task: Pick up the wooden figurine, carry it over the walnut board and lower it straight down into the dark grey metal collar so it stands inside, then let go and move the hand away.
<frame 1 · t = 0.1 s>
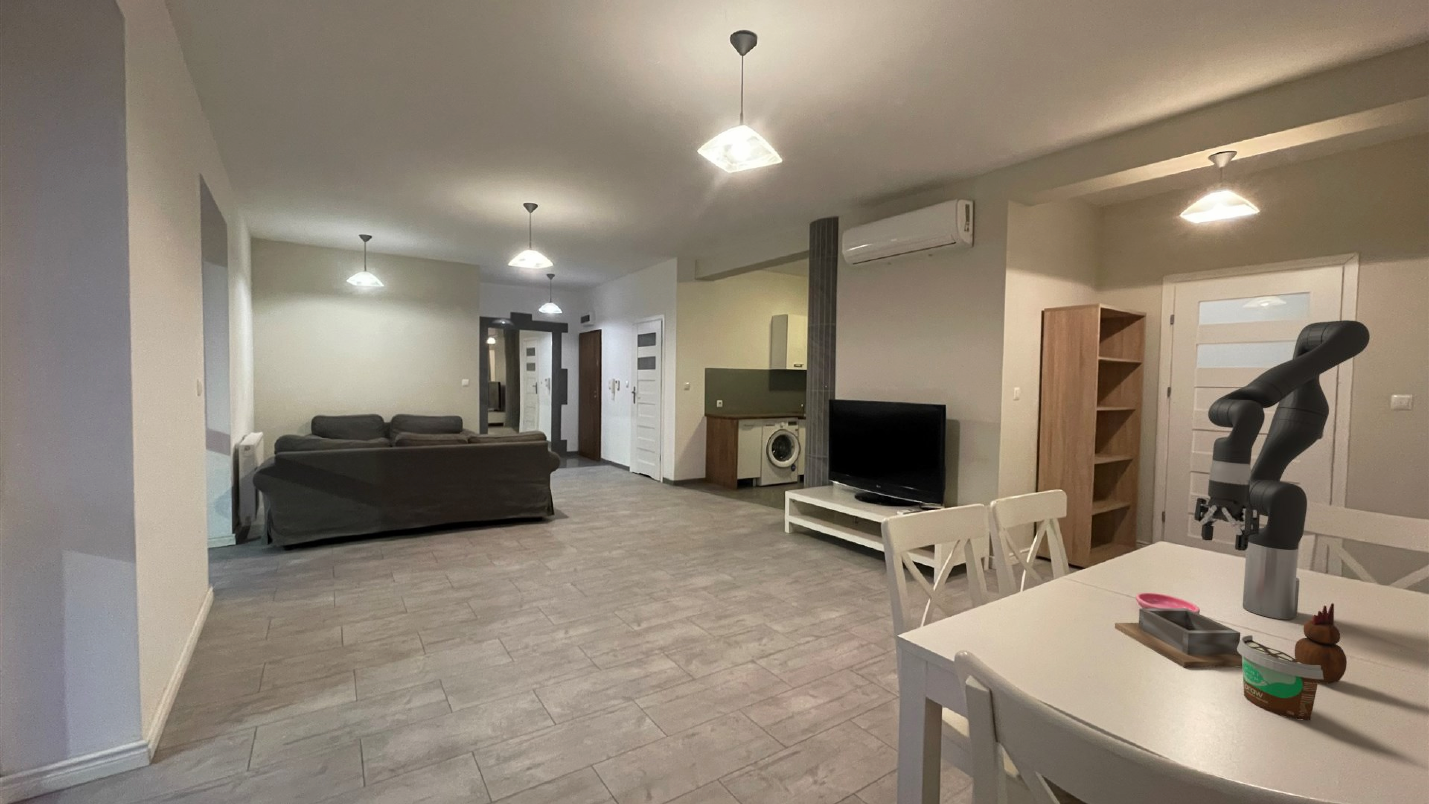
hand: (1223, 544, 141), 17 cm above the table, tool pointing down, fingers open, 8 cm apart
collar board: (1186, 645, 124), on the table
wooden figurine: (1318, 680, 111), on the table
saucer: (1166, 614, 141), on the table
food container: (1265, 706, 101), on the table
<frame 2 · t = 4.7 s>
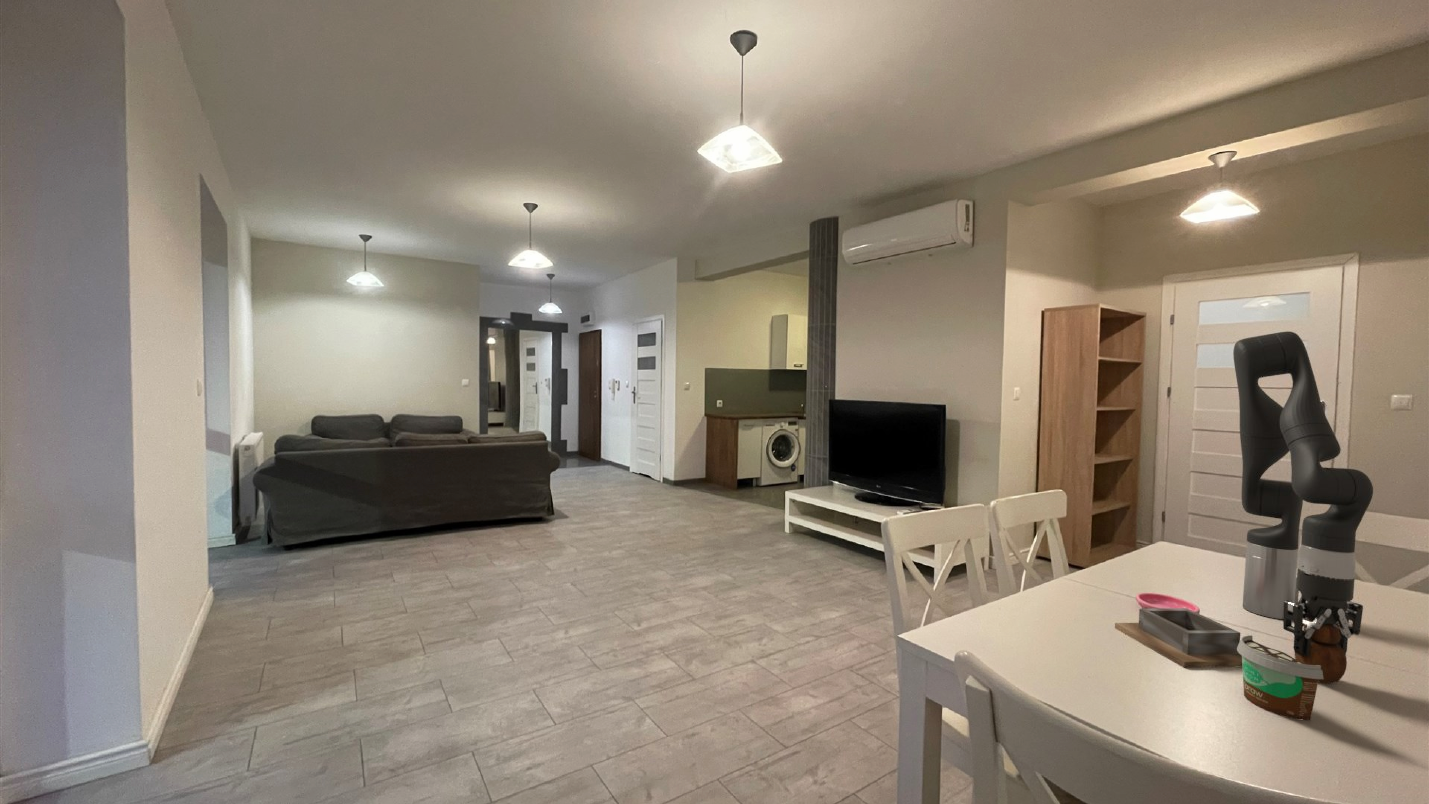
hand: (1319, 654, 110), 5 cm above the table, tool pointing down, fingers closed on wooden figurine, 7 cm apart
wooden figurine: (1318, 680, 111), on the table, touching gripper
everything else where it was.
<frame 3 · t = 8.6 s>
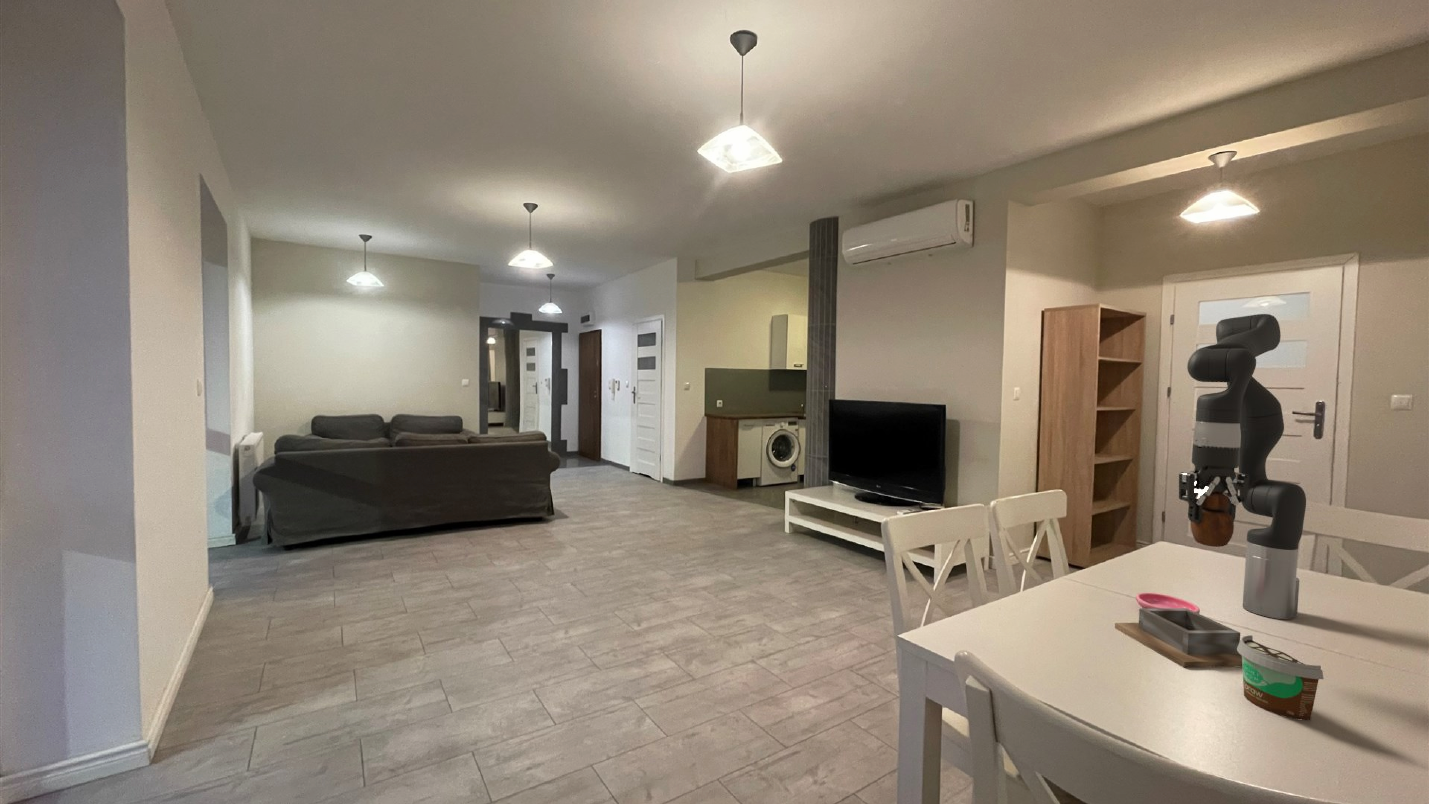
hand: (1211, 521, 120), 28 cm above the table, tool pointing down, fingers closed on wooden figurine, 7 cm apart
wooden figurine: (1210, 545, 120), point 23 cm above the table, touching gripper
everything else where it was.
when the fingers open (7 cm above the table, at t = 12.8 s): wooden figurine stays where it is, resting on collar board.
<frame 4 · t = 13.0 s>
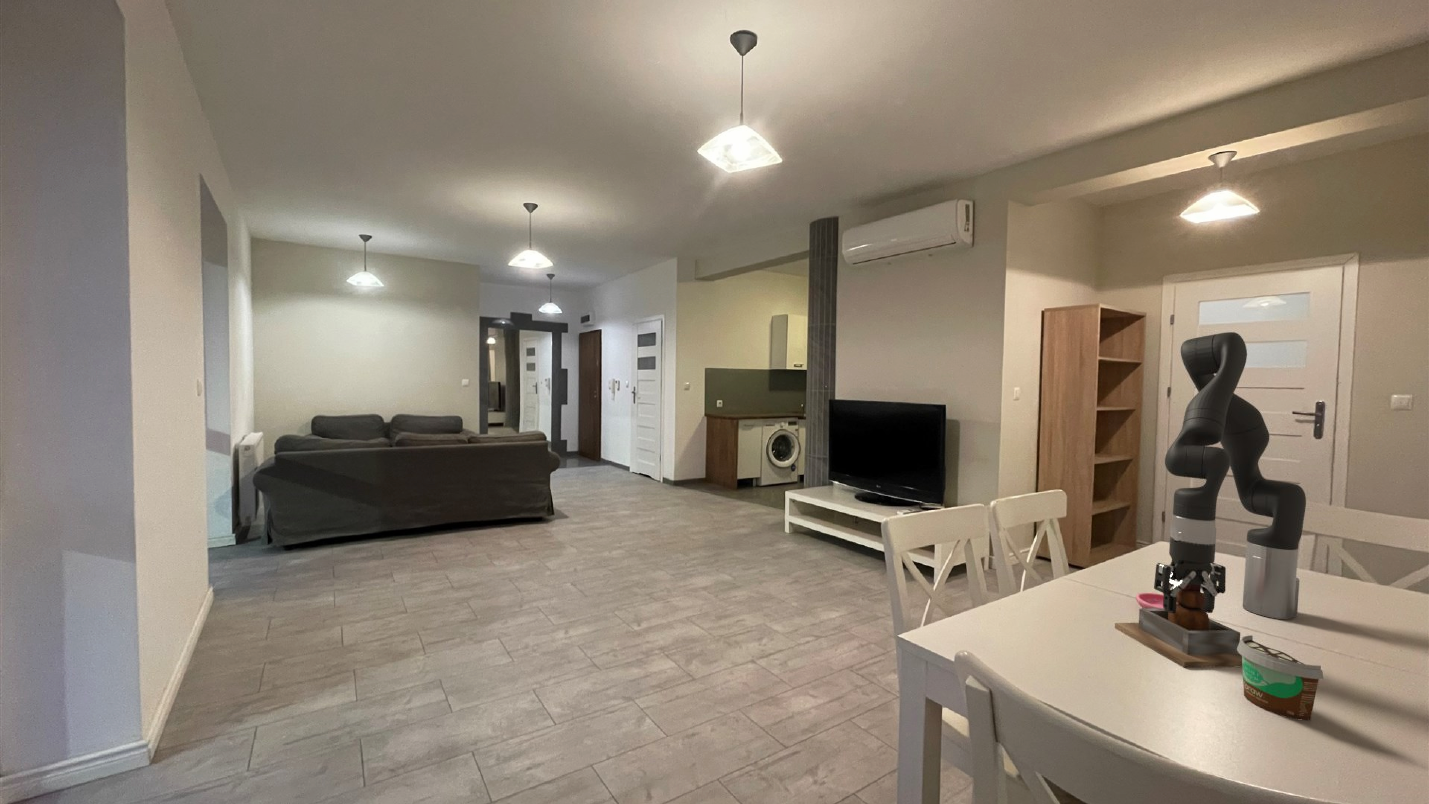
hand: (1188, 611, 123), 8 cm above the table, tool pointing down, fingers open, 8 cm apart
wooden figurine: (1186, 641, 123), point 1 cm above the table, touching collar board
everything else where it was.
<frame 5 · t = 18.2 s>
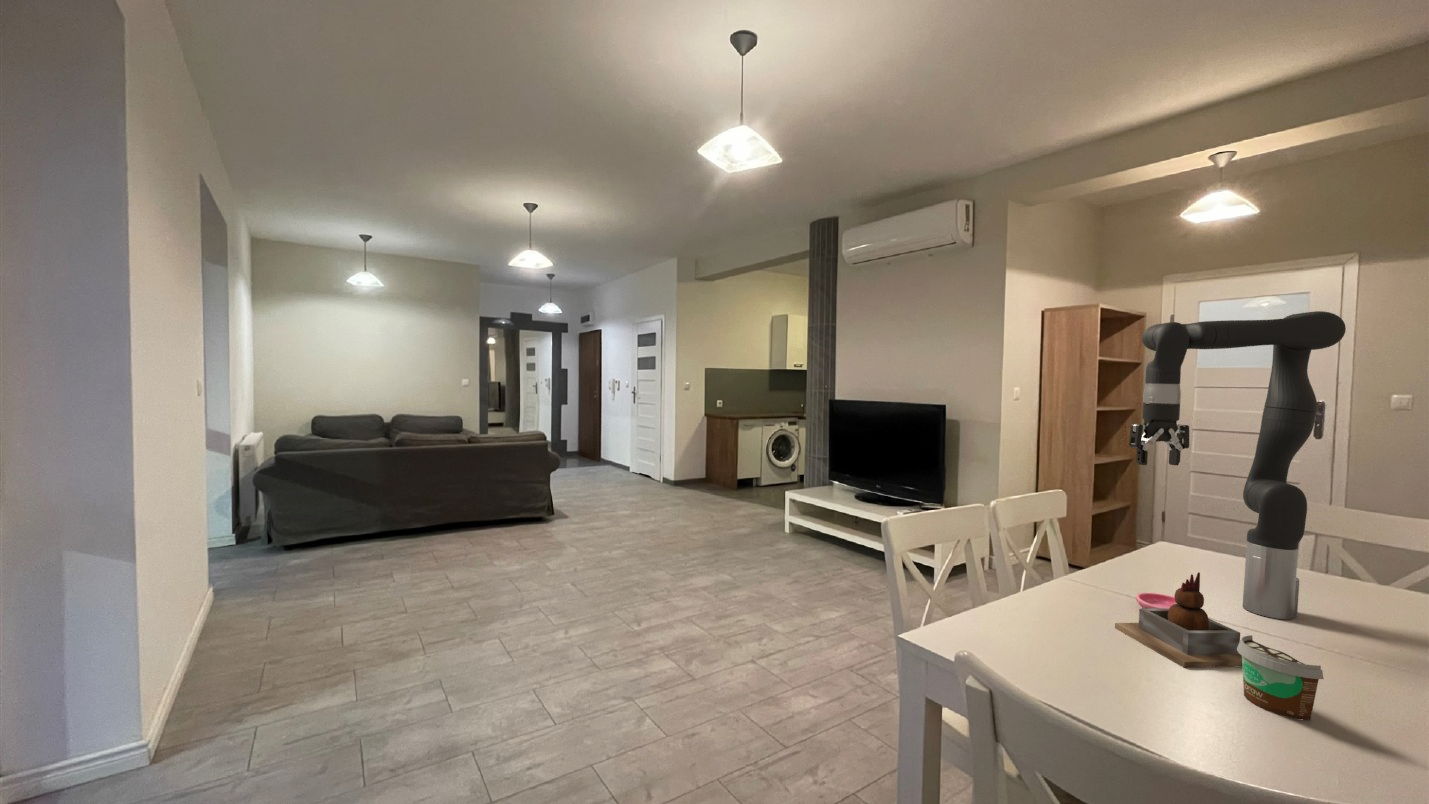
hand: (1157, 464, 146), 36 cm above the table, tool pointing down, fingers open, 8 cm apart
nothing on the table moved.
at the end: wooden figurine 0.1 cm off-centre on the collar board, point 1.0 cm above the collar board's base; wooden figurine tilted 0°; the gripper is holding nothing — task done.
